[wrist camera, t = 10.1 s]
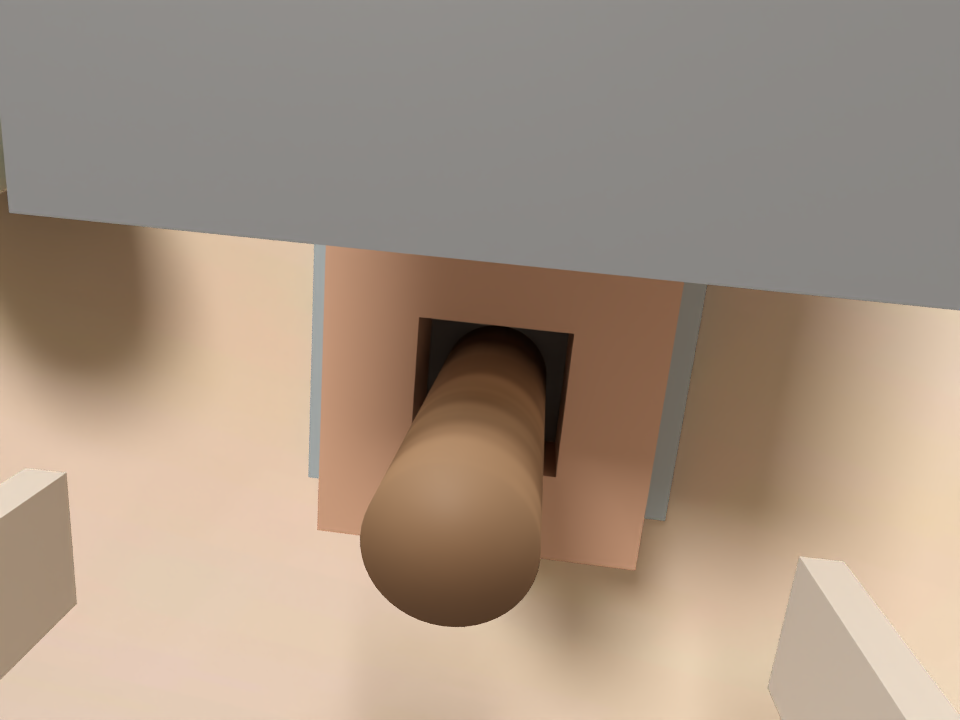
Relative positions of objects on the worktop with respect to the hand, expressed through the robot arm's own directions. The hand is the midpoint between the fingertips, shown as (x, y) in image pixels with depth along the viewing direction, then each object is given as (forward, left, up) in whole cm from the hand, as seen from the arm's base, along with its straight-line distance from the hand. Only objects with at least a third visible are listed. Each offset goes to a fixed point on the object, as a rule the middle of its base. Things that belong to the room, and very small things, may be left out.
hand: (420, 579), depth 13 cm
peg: (0, 0, -13) cm, 13 cm away
